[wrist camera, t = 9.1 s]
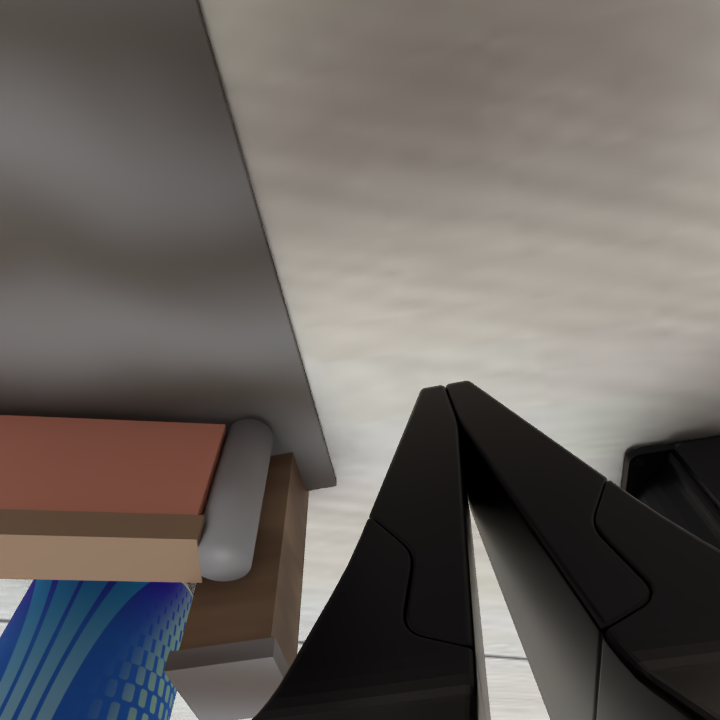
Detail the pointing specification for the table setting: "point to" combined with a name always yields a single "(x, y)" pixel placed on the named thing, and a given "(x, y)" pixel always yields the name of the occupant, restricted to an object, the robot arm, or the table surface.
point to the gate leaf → (130, 498)
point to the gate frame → (153, 291)
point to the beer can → (92, 650)
